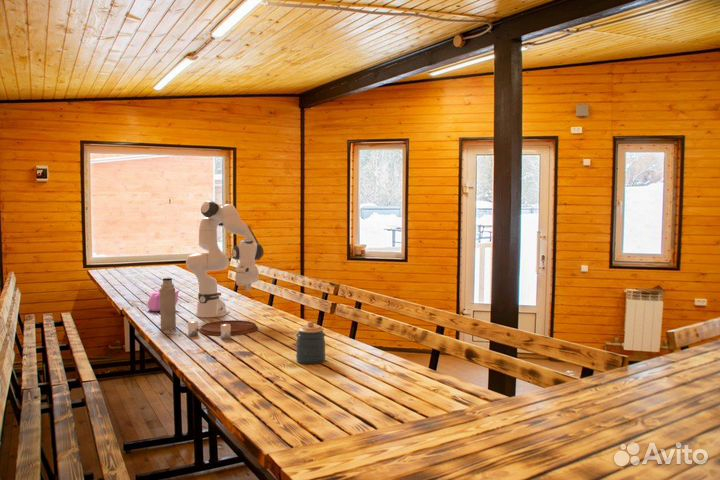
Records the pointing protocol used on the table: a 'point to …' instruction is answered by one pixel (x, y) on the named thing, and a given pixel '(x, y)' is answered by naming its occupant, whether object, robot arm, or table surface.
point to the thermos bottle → (167, 304)
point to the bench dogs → (194, 330)
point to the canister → (310, 344)
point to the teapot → (158, 301)
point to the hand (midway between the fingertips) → (247, 291)
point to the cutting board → (236, 328)
